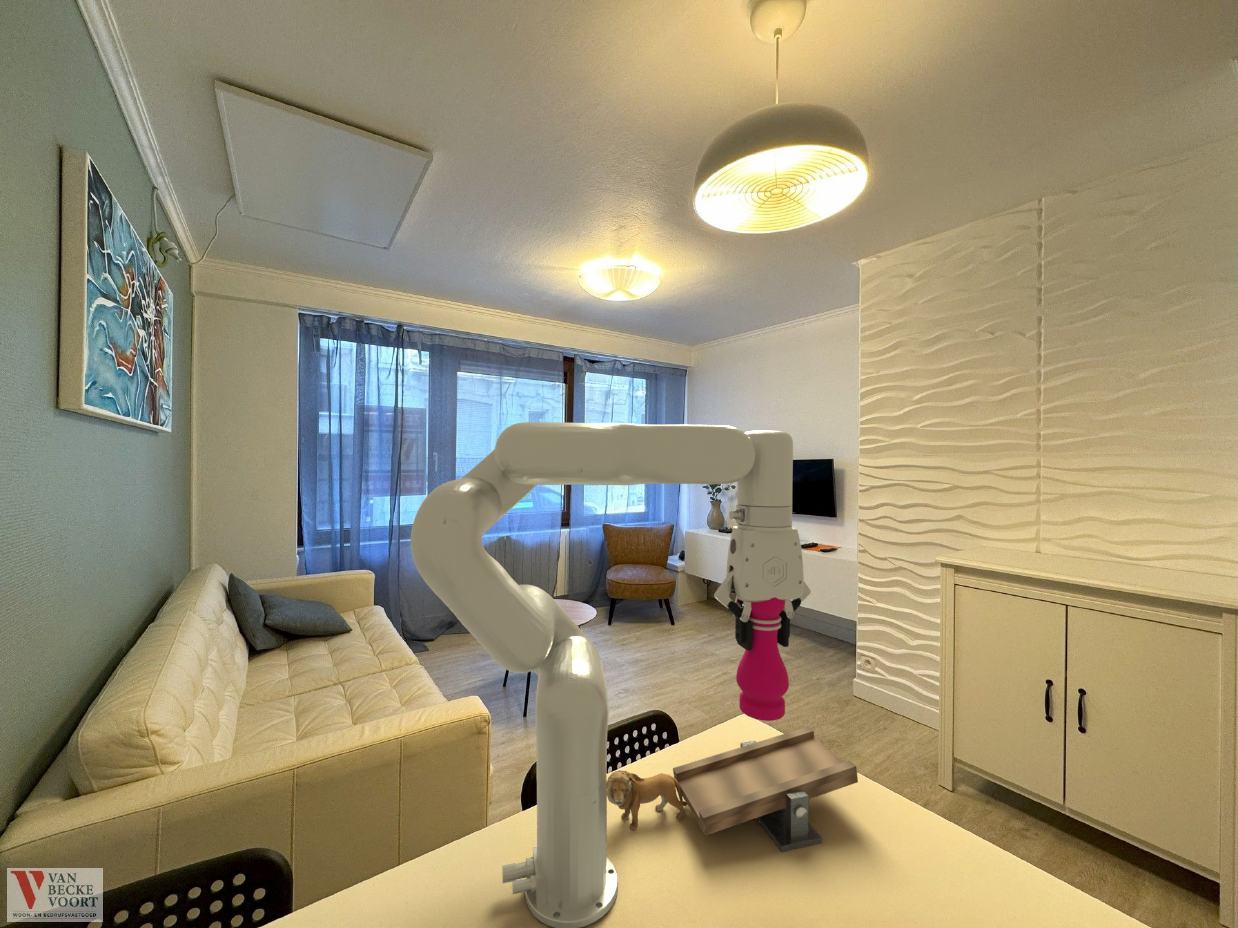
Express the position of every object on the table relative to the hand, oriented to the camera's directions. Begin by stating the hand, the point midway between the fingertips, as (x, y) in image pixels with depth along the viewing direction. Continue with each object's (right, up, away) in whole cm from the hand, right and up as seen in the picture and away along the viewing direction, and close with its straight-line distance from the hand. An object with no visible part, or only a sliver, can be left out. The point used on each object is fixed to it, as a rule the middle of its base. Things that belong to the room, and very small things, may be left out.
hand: (762, 643), depth 72 cm
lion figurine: (-16, -33, +10) cm, 38 cm away
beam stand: (+5, -32, +13) cm, 35 cm away
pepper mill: (0, -10, 0) cm, 10 cm away
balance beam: (+4, -28, +13) cm, 31 cm away
